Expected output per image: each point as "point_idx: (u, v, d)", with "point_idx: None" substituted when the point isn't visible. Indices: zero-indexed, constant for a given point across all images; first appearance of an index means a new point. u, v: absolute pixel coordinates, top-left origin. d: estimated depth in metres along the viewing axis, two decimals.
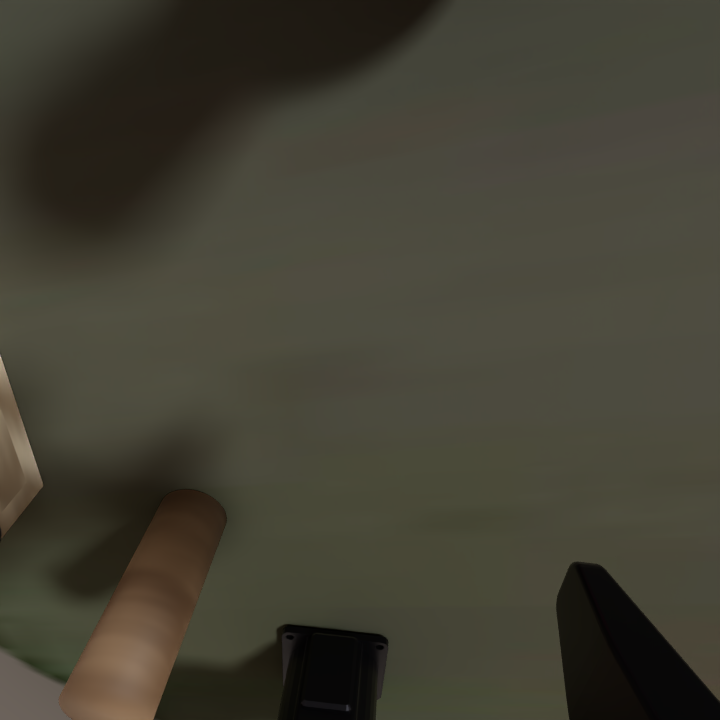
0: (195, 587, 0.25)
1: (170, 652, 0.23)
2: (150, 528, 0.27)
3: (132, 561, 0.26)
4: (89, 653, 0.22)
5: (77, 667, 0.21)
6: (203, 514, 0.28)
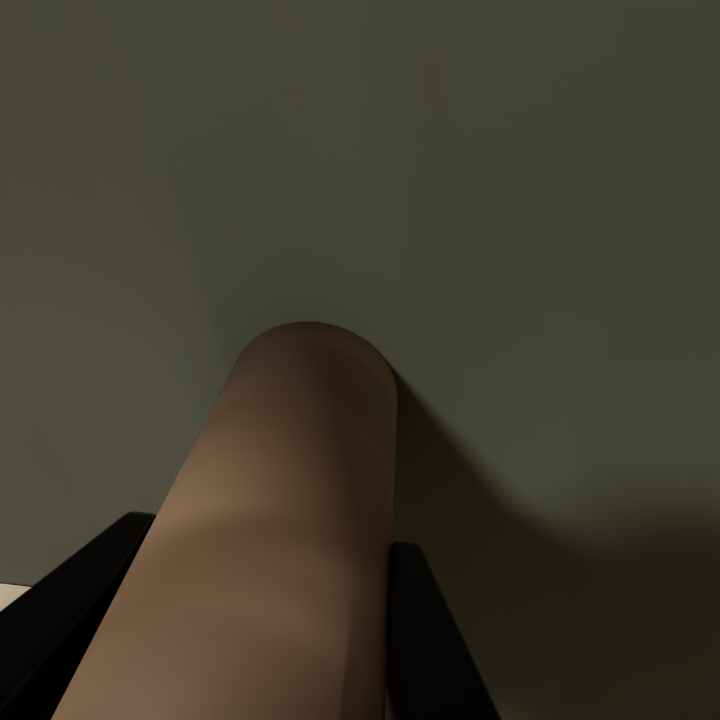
0: (226, 489, 0.07)
1: None
2: None
3: None
4: None
5: None
6: (231, 378, 0.10)
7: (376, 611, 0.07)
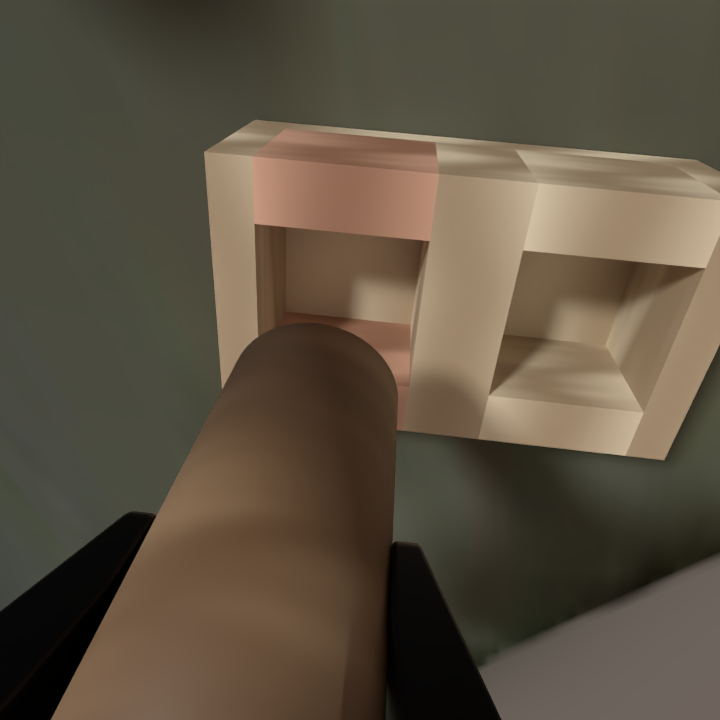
0: (225, 492, 0.07)
1: None
2: None
3: None
4: None
5: None
6: (230, 379, 0.10)
7: (376, 615, 0.07)
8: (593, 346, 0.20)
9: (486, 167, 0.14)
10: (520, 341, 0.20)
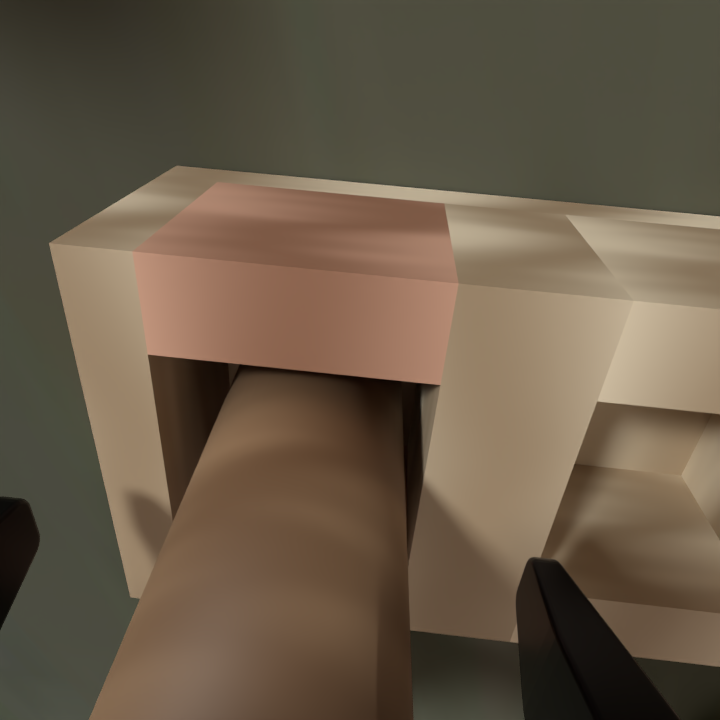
0: (266, 427, 0.08)
1: (215, 616, 0.06)
2: None
3: None
4: None
5: None
6: None
7: (398, 525, 0.08)
8: (664, 478, 0.14)
9: (534, 261, 0.09)
10: None
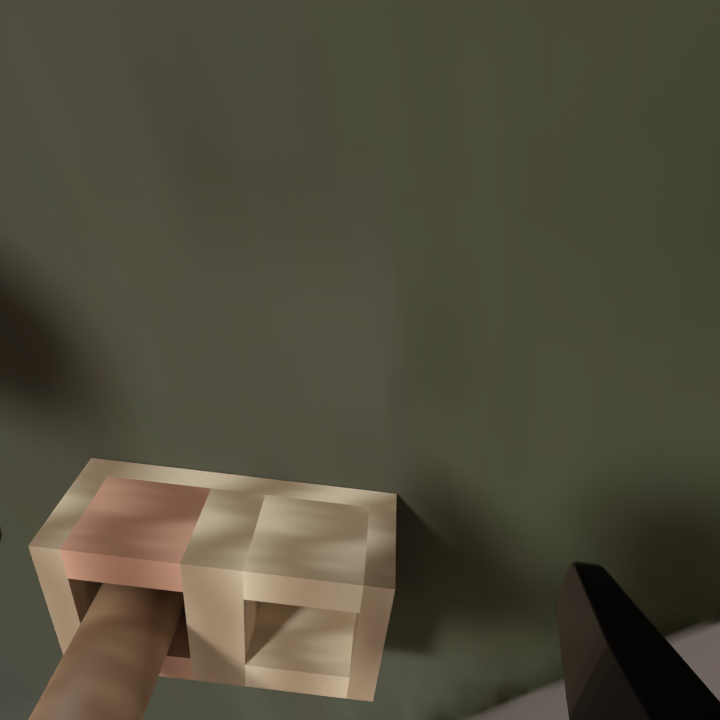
0: (108, 606, 0.22)
1: (68, 687, 0.19)
2: None
3: None
4: None
5: None
6: None
7: (154, 647, 0.21)
8: None
9: (221, 543, 0.22)
10: None
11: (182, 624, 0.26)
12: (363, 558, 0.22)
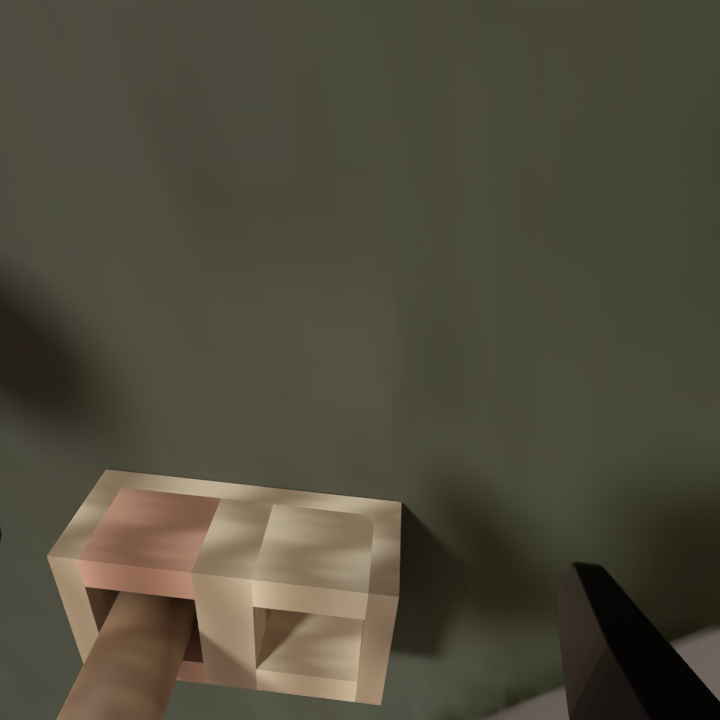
0: (124, 616, 0.23)
1: (89, 695, 0.20)
2: None
3: None
4: None
5: None
6: None
7: (170, 655, 0.22)
8: None
9: (230, 552, 0.23)
10: None
11: (195, 629, 0.26)
12: (368, 566, 0.23)
